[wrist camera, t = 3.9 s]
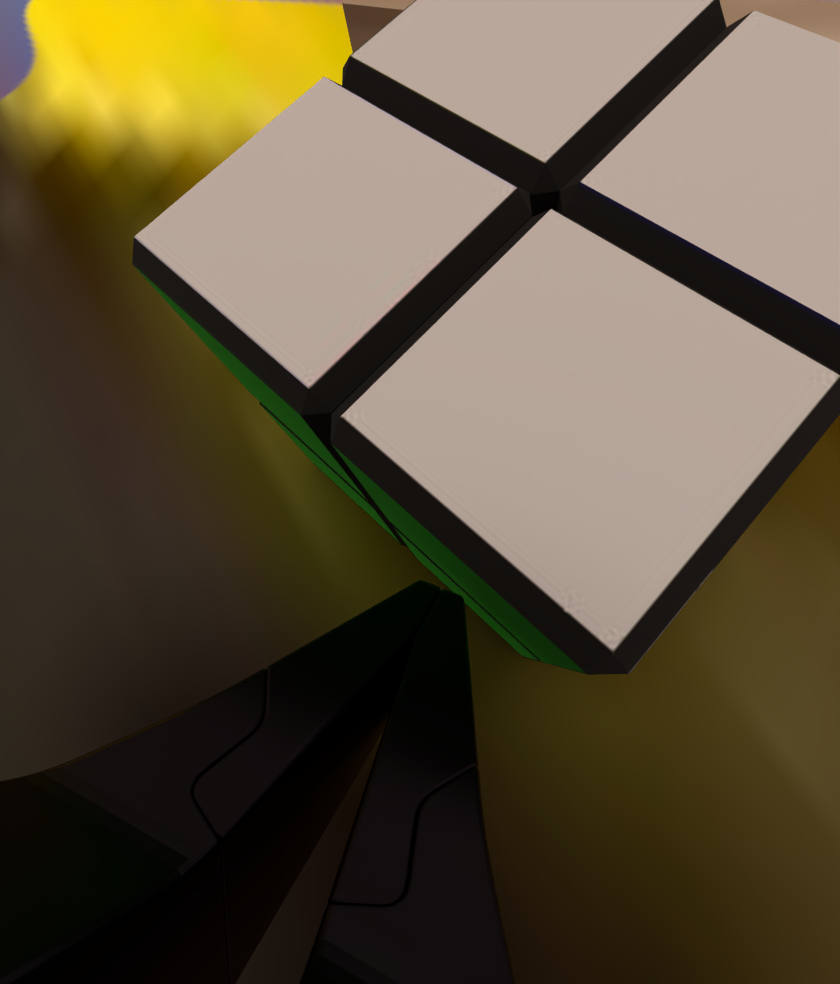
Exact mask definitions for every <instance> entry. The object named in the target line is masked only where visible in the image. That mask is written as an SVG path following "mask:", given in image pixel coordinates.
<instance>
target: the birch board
mask: <svg viewBox="0 0 840 984" xmlns="http://www.w3.org/2000/svg"><path fill="white" fill-rule="evenodd" d="M414 1H415V0H344V1H343V3H342V4H343V9H344V13H345V18H346V23H347V27H348V32H349V36H350V41H351V46H352V50H353V52H354V51H356V50H357V49H358V48H359V47H360V46H362V45H363V44H364V43H365V42H366V41H368V40H369V39H370V38H371V37H372V36H373V35H375V34H376V33H377V32H378V31H379V30H381V29H382V28H383V27H384V26H385V25H386V24H388V23H389V22H390V21H391V20H392V19H394V18H395V17H396V16H397V15H398V14H400V13H401V12H402V11H403V10H404V9H405V8H407V7H408V6H409V5H410V4H411V3H413V2H414ZM719 1H720V4H721V8H722V12H723V15H724V19H725V23H726V26H727V27H728V26H729V25H731V24H733V23H734V22H736V21H737V20H739V19H741V18H742V17H744V16H746V15H747V14H749V13H751V12H752V11H754V10H755V11H757V12H760V13H762V14H765V15H768V16H770V17H773V18H776V19H778V20H781V21H784V22H786V23H789V24H792V25H794V26H797V27H799V28H802V29H805V30H807V31H810V32H813V33H815V34H818V35H821V36H823V37H826V38H828V39H831V40H834V41H836V42H839V43H840V3H835V2H823V1H812V0H811V1H810V0H719Z"/></svg>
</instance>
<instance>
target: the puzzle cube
mask: <svg viewBox="0 0 840 984" xmlns="http://www.w3.org/2000/svg"><path fill="white" fill-rule="evenodd" d="M132 264H133V266H134V267H135V268H136V269H137V270H138V271H139V272H140V273H141V274H142V275H143V276H144V277H145V279H146V280H147V281H148V282H149V283H150V284H151V285H152V286H153V287H154V288H155V289H156V291H157V292H158V293H159V294H160V295H161V296H162V297H163V298H164V299H165V300H166V301H167V303H168V304H169V305H170V306H171V307H172V308H173V309H174V310H175V311H176V312H177V313H178V315H179V316H180V317H181V318H182V319H183V320H184V321H185V322H186V323H187V324H188V325H189V327H190V328H191V329H192V330H193V331H194V332H195V333H196V334H197V335H198V336H199V337H200V338H201V340H202V341H203V342H204V343H205V344H206V345H207V346H208V347H209V348H210V349H211V350H212V352H213V353H214V354H215V355H216V356H217V357H218V358H219V359H220V360H221V361H222V362H223V364H224V365H225V366H226V367H227V368H228V369H229V370H230V371H231V372H232V373H233V374H234V376H235V377H236V378H237V379H238V380H239V381H240V382H241V383H242V384H243V385H244V386H245V388H246V389H247V390H248V391H249V392H250V393H251V394H252V395H253V396H255V397H256V398H257V399H258V400H259V401H260V405H261V406H262V407H263V408H264V409H265V410H266V411H267V412H268V414H269V415H270V416H271V417H272V418H273V419H274V420H275V421H276V422H277V424H278V425H279V426H280V427H281V428H282V429H283V430H284V431H285V432H286V433H287V435H288V436H289V437H290V438H291V439H292V440H293V441H294V442H295V443H296V444H297V446H298V447H299V448H300V449H301V450H302V451H303V452H304V453H305V454H306V456H307V457H308V458H309V459H310V460H311V461H312V462H313V463H314V464H315V465H316V466H317V467H318V468H319V469H320V470H321V471H323V472H324V473H325V474H326V475H327V476H328V477H329V478H330V479H331V480H332V481H333V482H334V483H335V484H337V485H338V486H339V487H340V488H341V489H342V490H343V491H344V492H345V493H346V494H347V495H348V496H349V497H351V498H352V499H353V500H354V501H355V502H356V503H357V504H358V505H359V506H360V507H361V508H362V509H363V510H365V511H366V512H367V513H368V514H369V515H370V516H371V517H372V518H373V519H374V520H375V521H376V522H377V523H379V524H380V525H381V526H382V527H383V528H384V529H385V530H386V531H387V532H388V533H389V534H390V535H391V536H393V537H394V538H395V539H396V540H397V541H398V542H399V543H400V544H401V545H407V546H408V547H409V549H410V550H411V551H412V553H413V554H414V556H415V557H416V558H417V559H418V560H419V561H420V562H421V563H422V564H424V565H425V566H426V567H427V568H428V569H429V570H430V571H431V572H432V573H433V574H434V575H435V576H436V577H438V578H439V579H440V580H441V581H442V582H443V583H444V584H445V585H446V586H447V587H448V588H449V589H450V590H452V591H453V592H454V593H456V594H459V595H461V596H462V597H463V598H464V603H466V604H467V605H468V606H469V607H470V608H471V609H472V610H473V611H474V612H475V613H476V614H477V615H478V616H480V617H481V618H482V619H483V620H484V621H485V622H486V623H487V624H488V625H489V626H490V627H491V628H492V629H494V630H495V631H496V632H497V633H498V634H499V635H500V636H501V637H502V638H503V639H504V640H505V641H506V642H508V643H509V644H510V645H511V646H512V647H513V648H514V649H515V650H516V651H517V652H518V653H519V654H521V655H522V656H523V657H526V658H530V659H533V660H536V661H542V662H544V663H547V664H551V665H555V666H558V667H562V668H566V669H570V670H573V671H577V672H581V673H584V674H629V673H630V672H631V671H632V670H633V668H634V667H635V666H636V665H637V663H638V662H639V661H640V660H641V658H642V657H643V656H644V655H645V653H646V652H647V651H648V650H649V649H650V647H651V646H652V645H653V644H654V642H655V641H656V640H657V639H658V637H659V636H660V635H661V634H662V633H663V631H664V630H665V629H666V628H667V626H668V625H669V624H670V623H671V621H672V620H673V619H674V618H675V617H676V615H677V614H678V613H679V612H680V610H681V609H682V608H683V607H684V605H685V604H686V603H687V602H688V600H689V599H690V598H691V597H692V596H693V594H694V593H695V592H696V591H697V589H698V588H699V587H700V586H701V584H702V583H703V582H704V581H705V580H706V578H707V577H708V576H709V575H710V573H711V572H712V571H713V570H714V568H715V567H716V566H717V565H718V563H719V562H720V561H721V560H722V559H723V557H724V556H725V555H726V554H727V552H728V551H729V550H730V549H731V547H732V546H733V545H734V544H735V543H736V541H737V540H738V539H739V538H740V536H741V535H742V534H743V533H744V531H745V530H746V529H747V528H748V526H749V525H750V524H751V523H752V522H753V520H754V519H755V518H756V517H757V515H758V514H759V513H760V512H761V510H762V509H763V508H764V507H765V506H766V504H767V503H768V502H769V501H770V499H771V498H772V497H773V496H774V494H775V493H776V492H777V491H778V490H779V488H780V487H781V486H782V485H783V483H784V482H785V481H786V480H787V478H788V477H789V476H790V475H791V473H792V472H793V471H794V470H795V469H796V467H797V466H798V465H799V464H800V462H801V461H802V460H803V459H804V457H805V456H806V455H807V454H808V453H809V451H810V450H811V449H812V448H813V446H814V445H815V444H816V443H817V441H818V440H819V439H820V438H821V436H822V435H823V434H824V433H825V432H826V430H827V429H828V428H829V427H830V425H831V424H832V423H833V422H834V420H835V419H836V418H837V417H838V416H839V414H840V43H839V42H836V41H834V40H831V39H828V38H826V37H823V36H821V35H818V34H815V33H813V32H810V31H807V30H805V29H802V28H799V27H797V26H794V25H792V24H789V23H786V22H784V21H781V20H778V19H776V18H773V17H770V16H768V15H765V14H762V13H760V12H757V11H755V10H754V11H752V12H751V13H749V14H747V15H746V16H744V17H742V18H741V19H739V20H737V21H736V22H734V23H733V24H731V25H729V26H728V27H727V26H726V23H725V19H724V15H723V12H722V8H721V4H720V1H719V0H415V1H414V2H413V3H411V4H410V5H409V6H408V7H407V8H405V9H404V10H403V11H402V12H401V13H400V14H398V15H397V16H396V17H395V18H394V19H392V20H391V21H390V22H389V23H388V24H386V25H385V26H384V27H383V28H382V29H381V30H379V31H378V32H377V33H376V34H375V35H373V36H372V37H371V38H370V39H369V40H368V41H366V42H365V43H364V44H363V45H362V46H360V47H359V48H358V49H357V50H356V51H354V52H353V53H352V54H351V55H350V56H349V58H348V60H347V62H346V64H345V65H344V67H343V79H342V85H339V84H337V83H335V82H333V81H331V80H329V79H327V78H325V77H323V78H322V79H321V80H320V81H318V82H317V83H316V84H315V85H314V86H313V87H311V88H310V89H309V90H308V91H307V92H305V93H304V94H303V95H302V96H301V97H299V98H298V99H297V100H296V101H295V102H294V103H292V104H291V105H290V106H289V107H288V108H286V109H285V110H284V111H283V112H282V113H280V114H279V115H278V116H277V117H276V118H275V119H273V120H272V121H271V122H270V123H269V124H267V125H266V126H265V127H264V128H263V129H262V130H260V131H259V132H258V133H257V134H256V135H254V136H253V137H252V138H251V139H250V140H248V141H247V142H246V143H245V144H244V145H243V146H241V147H240V148H239V149H238V150H237V151H235V152H234V153H233V154H232V155H231V156H230V157H228V158H227V159H226V160H225V161H224V162H222V163H221V164H220V165H219V166H218V167H216V168H215V169H214V170H213V171H212V172H211V173H209V174H208V175H207V176H206V177H205V178H203V179H202V180H201V181H200V182H199V183H198V184H196V185H195V186H194V187H193V188H192V189H190V190H189V191H188V192H187V193H186V194H184V195H183V196H182V197H181V198H180V199H179V200H177V201H176V202H175V203H174V204H173V205H171V206H170V207H169V208H168V209H167V210H166V211H164V212H163V213H162V214H161V215H160V216H158V217H157V218H156V219H155V220H154V221H152V222H151V223H150V224H149V225H148V226H147V227H145V228H144V229H143V230H142V231H141V232H139V233H138V234H137V235H136V236H135V237H134V245H133V262H132Z"/></svg>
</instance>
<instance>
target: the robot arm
mask: <svg viewBox="0 0 840 984" xmlns="http://www.w3.org/2000/svg"><path fill="white" fill-rule="evenodd" d="M384 728H385V729H384ZM383 730H384V732H383ZM382 732H383V735H382V738H381V741H380V744H379V747H378V750H377V753H376V756H375V759H374V762H373V765H372V768H371V772H370V775H369V778H368V781H367V784H366V787H365V790H364V793H363V796H362V799H361V802H360V805H359V808H358V811H357V814H356V817H355V820H354V823H353V826H352V830H351V833H350V836H349V839H348V842H347V845H346V848H345V851H344V854H343V857H342V860H341V863H340V866H339V869H338V872H337V875H336V878H335V881H334V884H333V888H332V891H331V894H330V897H329V900H328V905H327V908H326V909H325V912H324V915H323V918H322V921H321V924H320V927H319V930H318V933H317V936H316V939H315V942H314V945H313V948H312V950H311V953H310V956H309V959H308V962H307V965H306V968H305V970H304V973H303V976H302V979H301V981H300V984H515V982H514V977H513V972H512V967H511V962H510V958H509V953H508V948H507V943H506V938H505V933H504V928H503V923H502V919H501V914H500V909H499V904H498V899H497V894H496V889H495V884H494V879H493V873H492V868H491V862H490V856H489V851H488V845H487V839H486V832H485V824H484V815H483V807H482V799H481V788H480V777H479V770H478V769H477V767H478V756H477V745H476V733H475V721H474V710H473V698H472V686H471V675H470V663H469V651H468V640H467V628H466V616H465V604H464V598H463V597H462V596H461V595H459V594H456V593H454V592H451V591H449V590H446V589H444V590H442V591H441V590H440V588H439V587H438V586H436V585H433V584H431V583H428V582H426V581H422V580H420V581H417V582H415V583H414V584H412V585H410V586H408V587H407V588H405V589H403V590H401V591H399V592H398V593H396V594H394V595H392V596H391V597H389V598H387V599H385V600H384V601H382V602H380V603H378V604H377V605H375V606H373V607H371V608H370V609H368V610H366V611H364V612H362V613H361V614H359V615H357V616H355V617H354V618H352V619H350V620H348V621H347V622H345V623H343V624H341V625H340V626H338V627H336V628H334V629H333V630H331V631H329V632H327V633H326V634H324V635H322V636H320V637H318V638H317V639H315V640H313V641H311V642H310V643H308V644H306V645H304V646H303V647H301V648H299V649H297V650H296V651H294V652H292V653H290V654H289V655H287V656H285V657H283V658H282V659H280V660H278V661H276V662H274V663H273V664H271V665H269V666H268V667H267V671H266V669H262V670H260V671H258V672H256V673H255V674H253V675H251V676H249V677H248V678H246V679H244V680H242V681H240V682H239V683H237V684H235V685H233V686H231V687H229V688H227V689H226V690H224V691H222V692H220V693H218V694H216V695H214V696H212V697H211V698H208V699H206V700H204V701H202V702H200V703H198V704H196V705H194V706H191V707H189V708H187V709H185V710H183V711H181V712H179V713H177V714H175V715H172V716H170V717H168V718H166V719H164V720H161V721H159V722H157V723H155V724H152V725H150V726H148V727H146V728H143V729H141V730H139V731H137V732H134V733H132V734H130V735H128V736H125V737H123V738H121V739H119V740H116V741H114V742H112V743H110V744H107V745H105V746H103V747H101V748H98V749H96V750H94V751H92V752H89V753H87V754H85V755H83V756H80V757H78V758H76V759H73V760H71V761H69V762H66V763H64V764H61V765H59V766H56V767H53V768H50V769H47V770H44V771H41V772H38V773H34V774H31V775H27V776H23V777H19V778H14V779H10V780H5V781H0V984H235V983H236V981H237V980H238V978H239V976H240V974H241V973H242V971H243V969H244V968H245V966H246V964H247V963H248V961H249V959H250V957H251V956H252V954H253V952H254V951H255V949H256V947H257V945H258V944H259V942H260V940H261V939H262V937H263V935H264V933H265V932H266V930H267V928H268V927H269V925H270V923H271V921H272V920H273V918H274V916H275V915H276V913H277V911H278V909H279V908H280V906H281V904H282V903H283V901H284V899H285V898H286V896H287V894H288V892H289V891H290V889H291V887H292V886H293V884H294V882H295V880H296V879H297V877H298V875H299V874H300V872H301V870H302V868H303V867H304V865H305V863H306V862H307V860H308V858H309V856H310V855H311V853H312V851H313V850H314V848H315V846H316V844H317V843H318V841H319V839H320V838H321V836H322V834H323V833H324V831H325V829H326V827H327V826H328V824H329V822H330V821H331V819H332V817H333V815H334V814H335V812H336V810H337V809H338V807H339V805H340V803H341V802H342V800H343V798H344V797H345V795H346V793H347V791H348V790H349V788H350V786H351V785H352V783H353V781H354V780H355V778H356V776H357V774H358V773H359V771H360V769H361V768H362V766H363V764H364V762H365V761H366V759H367V757H368V756H369V754H370V752H371V750H372V749H373V747H374V745H375V744H376V742H377V740H378V738H379V737H380V735H381V733H382Z"/></svg>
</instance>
